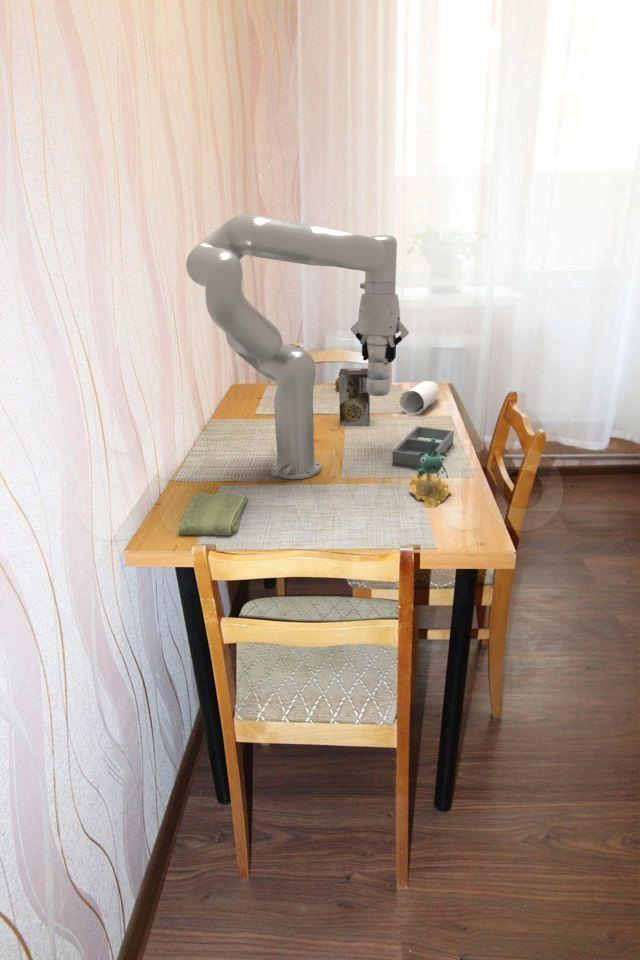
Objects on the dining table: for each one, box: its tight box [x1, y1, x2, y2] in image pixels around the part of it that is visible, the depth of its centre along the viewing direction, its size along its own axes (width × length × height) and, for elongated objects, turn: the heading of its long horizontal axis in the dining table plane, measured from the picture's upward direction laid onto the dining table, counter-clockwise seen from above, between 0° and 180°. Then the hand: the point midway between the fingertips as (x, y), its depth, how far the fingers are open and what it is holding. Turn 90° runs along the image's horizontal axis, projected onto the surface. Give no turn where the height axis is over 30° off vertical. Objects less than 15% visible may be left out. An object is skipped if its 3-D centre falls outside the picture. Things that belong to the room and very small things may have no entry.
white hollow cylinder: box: [398, 380, 440, 416], centre depth 208 cm, size 8×19×8 cm, turn 149°
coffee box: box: [338, 368, 371, 427], centre depth 194 cm, size 9×6×16 cm
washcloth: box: [178, 492, 249, 537], centre depth 143 cm, size 13×18×3 cm
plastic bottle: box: [366, 335, 392, 397], centre depth 168 cm, size 6×7×20 cm
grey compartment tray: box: [391, 425, 455, 471], centre depth 172 cm, size 20×11×4 cm, turn 155°
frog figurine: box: [409, 438, 452, 509], centre depth 150 cm, size 10×18×15 cm, turn 173°
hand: (378, 359), depth 168 cm, fingers closed on plastic bottle, 6 cm apart
